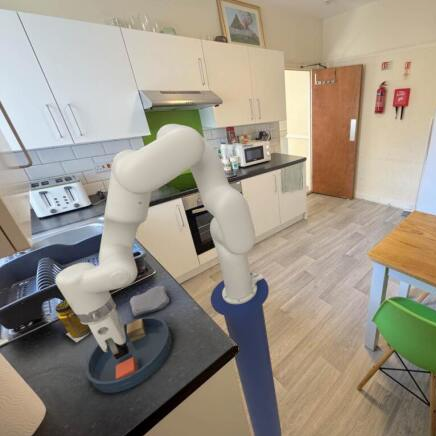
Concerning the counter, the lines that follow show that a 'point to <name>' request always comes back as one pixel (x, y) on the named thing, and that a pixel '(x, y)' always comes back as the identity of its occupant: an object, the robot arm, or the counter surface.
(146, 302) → the stone block
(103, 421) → the counter surface
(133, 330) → the maple block
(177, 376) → the counter surface
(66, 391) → the counter surface
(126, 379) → the bowl
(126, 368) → the coral block
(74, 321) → the condiment
